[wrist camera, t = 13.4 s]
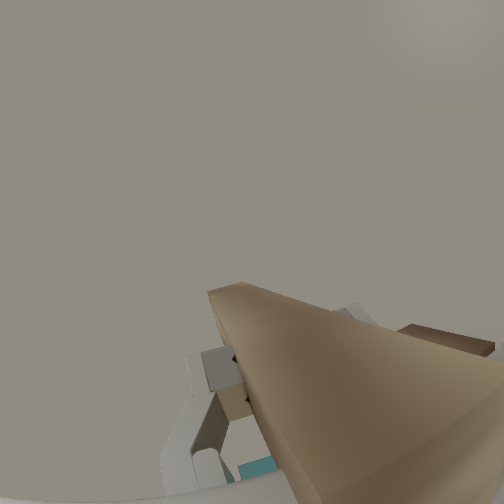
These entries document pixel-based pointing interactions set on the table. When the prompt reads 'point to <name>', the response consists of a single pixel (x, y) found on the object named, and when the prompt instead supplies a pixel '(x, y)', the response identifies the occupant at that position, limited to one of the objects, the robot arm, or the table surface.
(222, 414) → the robot arm
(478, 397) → the baton
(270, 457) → the teal rectangular block
